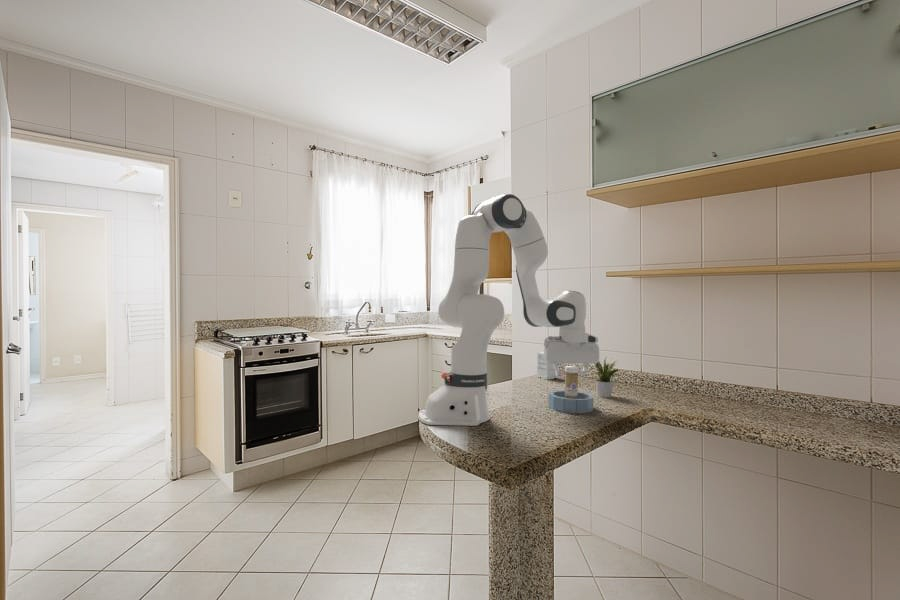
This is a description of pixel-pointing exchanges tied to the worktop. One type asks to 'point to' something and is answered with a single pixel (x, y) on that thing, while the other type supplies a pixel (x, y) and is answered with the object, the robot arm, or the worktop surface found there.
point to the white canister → (545, 368)
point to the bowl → (571, 402)
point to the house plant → (605, 379)
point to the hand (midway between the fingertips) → (570, 375)
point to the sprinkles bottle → (571, 382)
